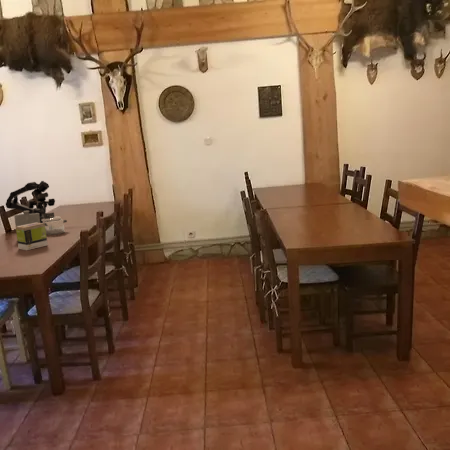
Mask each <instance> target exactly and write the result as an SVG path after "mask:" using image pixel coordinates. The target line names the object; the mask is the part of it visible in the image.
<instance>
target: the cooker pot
mask: <svg viewBox="0 0 450 450" xmlns="http://www.w3.org/2000/svg"><path fill="white" fill-rule="evenodd" d="M43 223H44V224H45V229H46V236H50V235H51V236H54V235H61V234H65V232H66V231H65V223H68V220H67V219H63V218H61V219H60V220H56V221H43Z"/></svg>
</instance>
